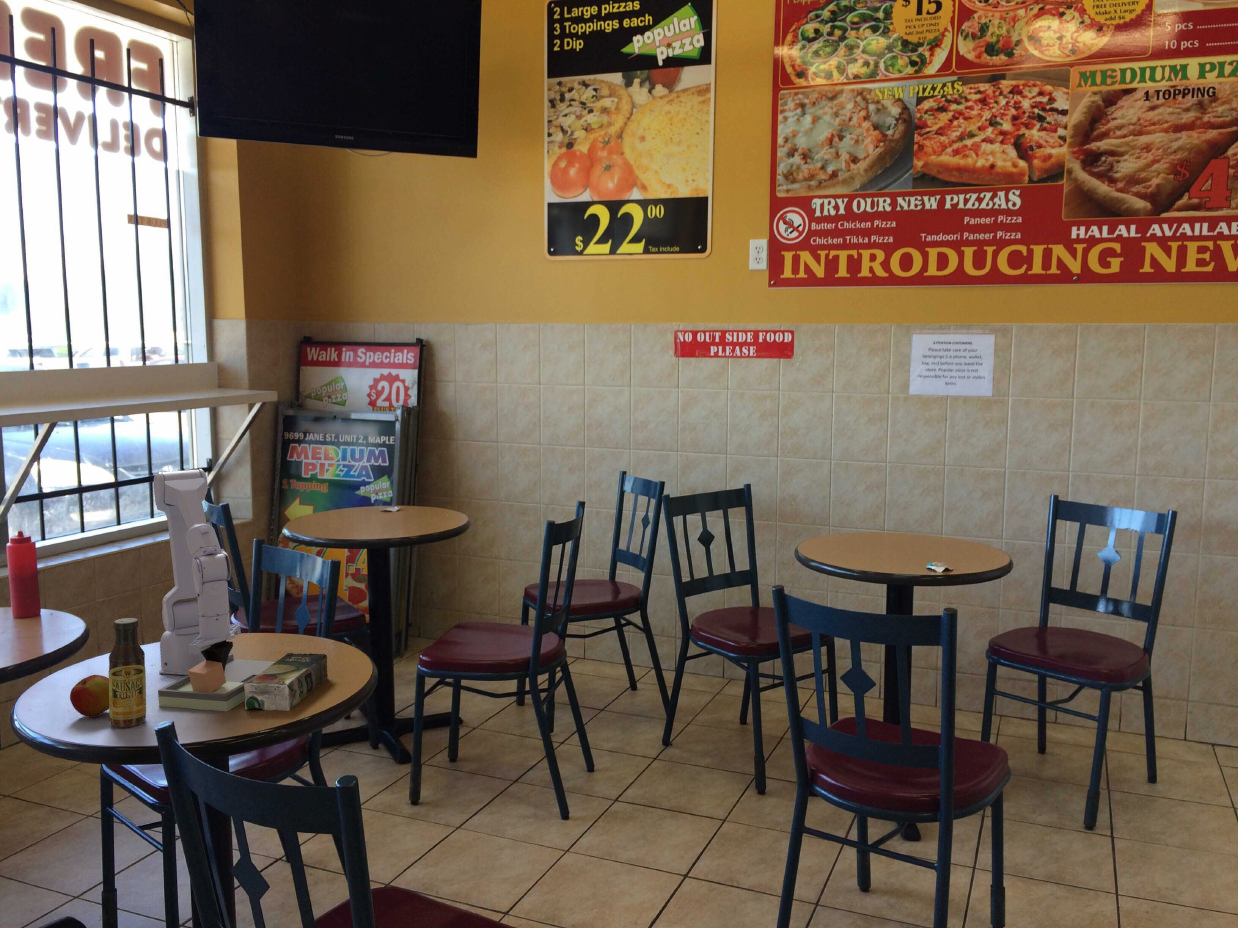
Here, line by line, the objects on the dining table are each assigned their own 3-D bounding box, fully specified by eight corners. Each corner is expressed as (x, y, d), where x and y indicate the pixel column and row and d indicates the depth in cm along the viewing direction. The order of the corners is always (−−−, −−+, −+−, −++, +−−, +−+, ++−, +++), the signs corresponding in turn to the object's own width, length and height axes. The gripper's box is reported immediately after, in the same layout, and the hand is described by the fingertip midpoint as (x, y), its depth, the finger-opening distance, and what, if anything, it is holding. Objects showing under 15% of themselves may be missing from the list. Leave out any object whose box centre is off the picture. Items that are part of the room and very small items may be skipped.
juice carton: (289, 713, 191) (287, 683, 191) (240, 712, 192) (239, 682, 192) (330, 680, 211) (328, 652, 211) (286, 679, 212) (284, 651, 212)
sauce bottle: (110, 731, 182) (103, 626, 180) (110, 720, 188) (103, 618, 185) (149, 725, 185) (143, 622, 183) (148, 714, 191) (141, 614, 188)
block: (192, 690, 198) (187, 670, 197) (210, 679, 202) (205, 659, 201) (209, 693, 196) (204, 673, 195) (226, 682, 200) (221, 662, 199)
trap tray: (158, 705, 195) (158, 690, 195) (230, 667, 219) (230, 653, 218) (226, 711, 192) (226, 695, 192) (292, 671, 216) (291, 657, 215)
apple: (83, 709, 194) (80, 669, 193) (126, 707, 194) (123, 668, 193) (64, 723, 186) (61, 682, 185) (109, 722, 187) (106, 681, 186)
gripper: (209, 623, 192) (213, 691, 194) (252, 604, 206) (255, 667, 208) (177, 622, 193) (181, 689, 195) (221, 603, 208) (225, 665, 209)
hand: (217, 678), depth 201 cm, fingers closed, pressing on block
